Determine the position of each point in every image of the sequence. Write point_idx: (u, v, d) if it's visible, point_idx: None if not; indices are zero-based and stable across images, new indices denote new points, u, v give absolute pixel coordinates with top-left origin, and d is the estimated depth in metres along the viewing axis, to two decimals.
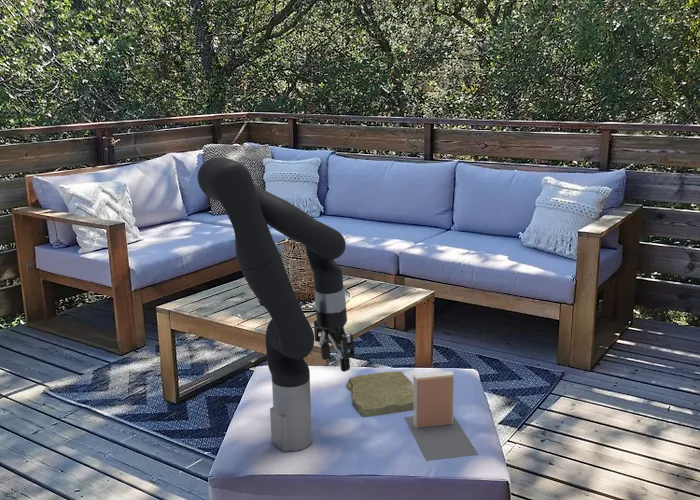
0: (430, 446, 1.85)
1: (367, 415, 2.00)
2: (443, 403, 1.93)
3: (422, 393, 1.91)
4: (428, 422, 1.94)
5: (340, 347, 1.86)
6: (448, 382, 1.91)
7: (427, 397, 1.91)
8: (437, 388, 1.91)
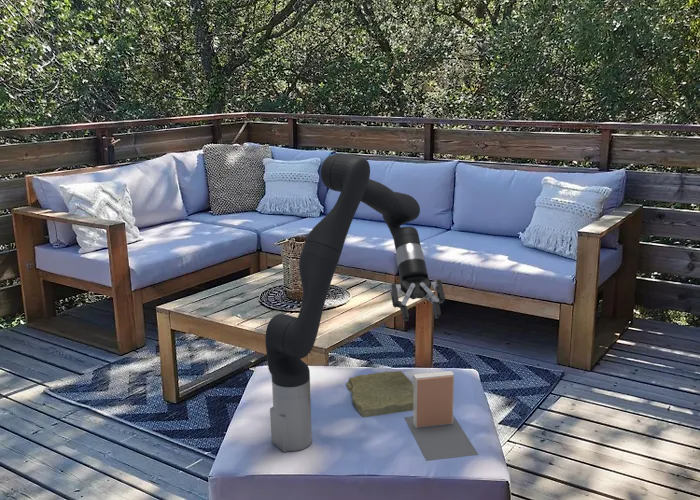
0: (430, 446, 1.85)
1: (367, 415, 2.00)
2: (443, 403, 1.93)
3: (422, 393, 1.91)
4: (428, 422, 1.94)
5: None
6: (448, 382, 1.91)
7: (427, 397, 1.91)
8: (437, 388, 1.91)
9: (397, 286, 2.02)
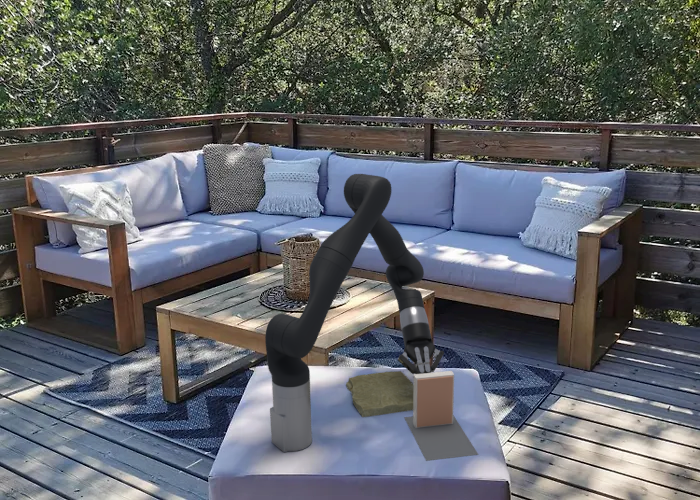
0: (430, 446, 1.85)
1: (367, 415, 2.00)
2: (443, 403, 1.93)
3: (422, 393, 1.91)
4: (428, 422, 1.94)
5: None
6: (448, 382, 1.91)
7: (427, 397, 1.91)
8: (437, 388, 1.91)
9: (404, 355, 2.02)
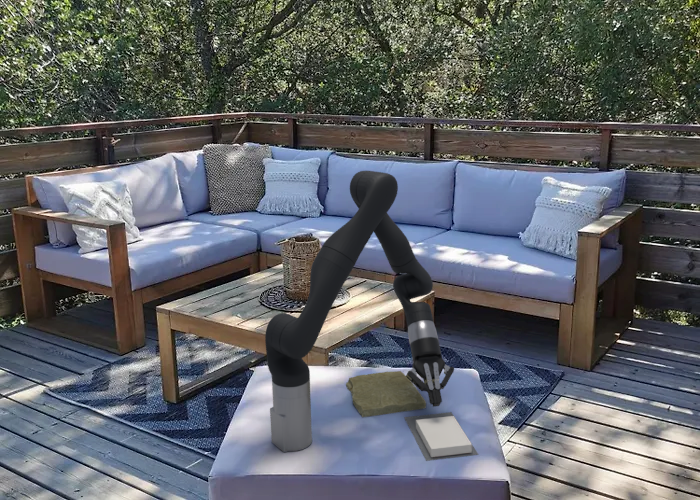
0: None
1: (367, 415, 2.00)
2: None
3: None
4: None
5: None
6: None
7: None
8: None
9: (412, 371, 1.94)
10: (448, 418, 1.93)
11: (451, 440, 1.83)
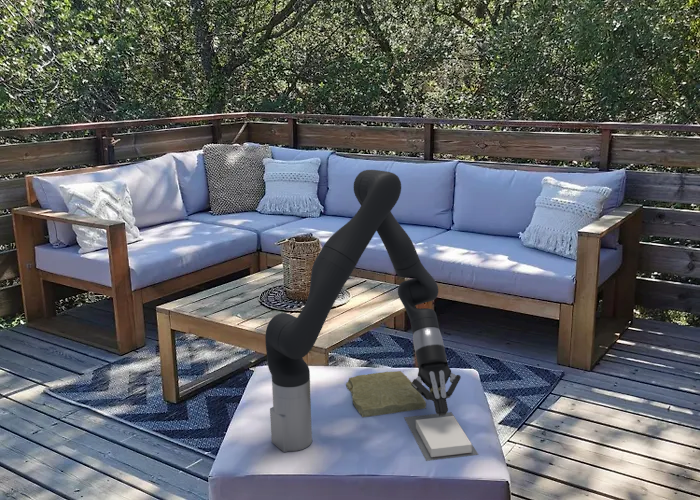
0: None
1: (367, 415, 2.00)
2: None
3: None
4: None
5: None
6: None
7: None
8: None
9: (418, 379, 1.89)
10: (448, 418, 1.93)
11: (451, 440, 1.83)
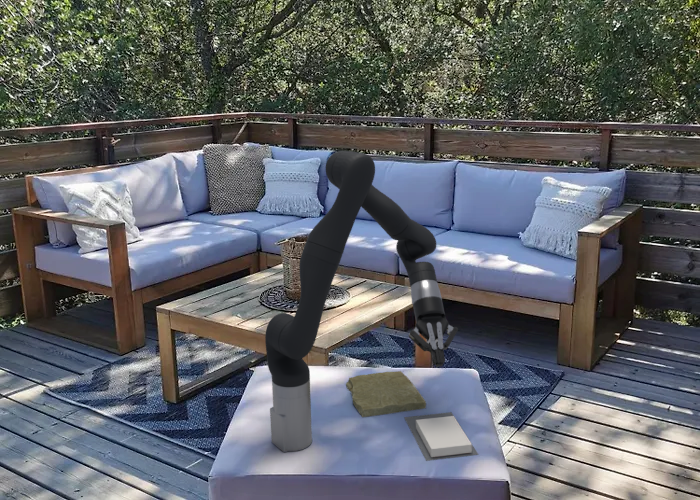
0: None
1: (367, 415, 2.00)
2: None
3: None
4: None
5: None
6: None
7: None
8: None
9: (415, 330, 1.89)
10: (448, 418, 1.93)
11: (451, 440, 1.83)
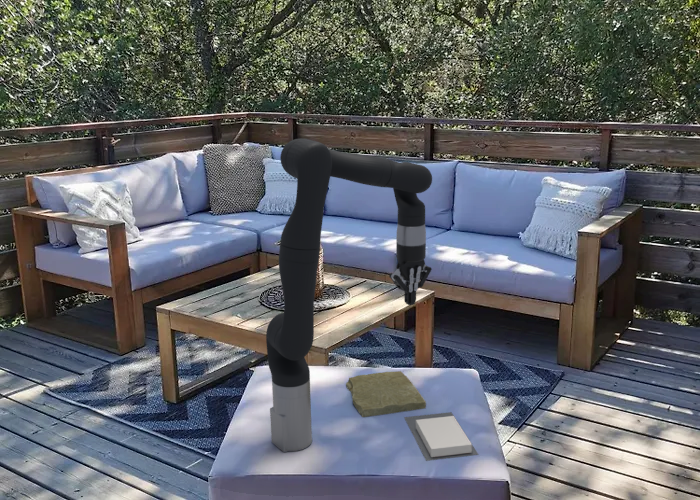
0: None
1: (367, 415, 2.00)
2: None
3: None
4: None
5: None
6: None
7: None
8: None
9: (397, 274, 1.93)
10: (448, 418, 1.93)
11: (451, 440, 1.83)
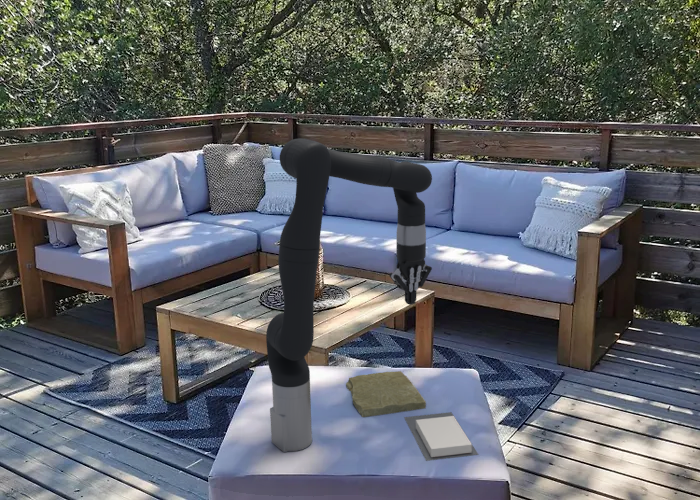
0: None
1: (367, 415, 2.00)
2: None
3: None
4: None
5: None
6: None
7: None
8: None
9: (398, 273, 1.93)
10: (448, 418, 1.93)
11: (451, 440, 1.83)
